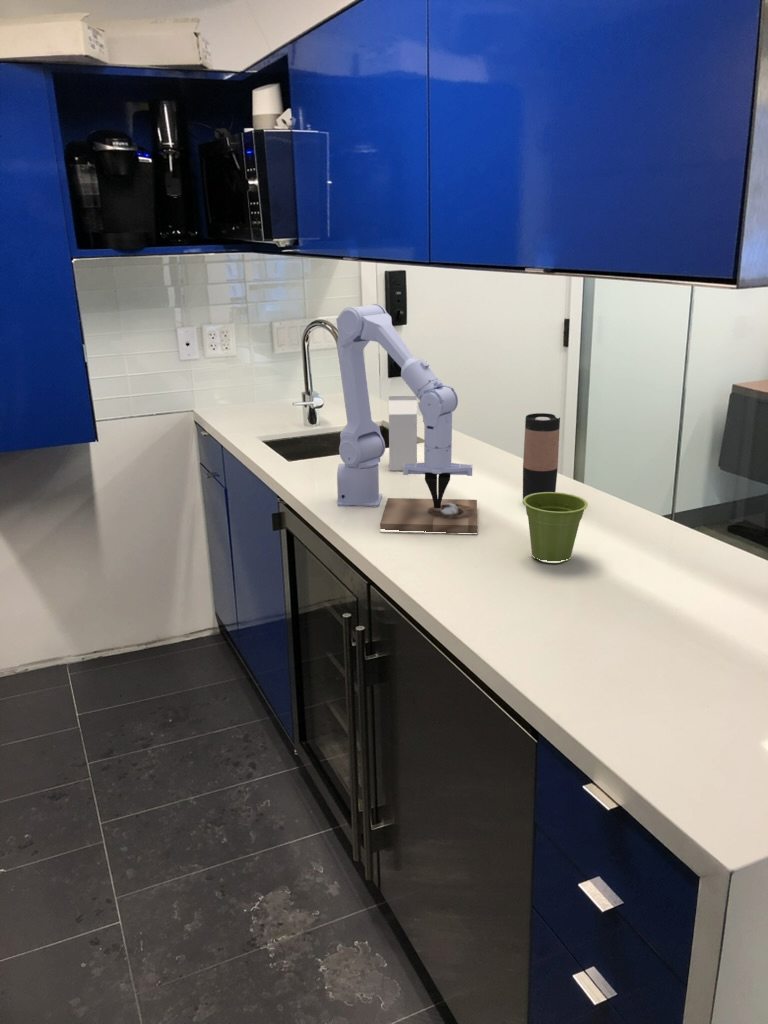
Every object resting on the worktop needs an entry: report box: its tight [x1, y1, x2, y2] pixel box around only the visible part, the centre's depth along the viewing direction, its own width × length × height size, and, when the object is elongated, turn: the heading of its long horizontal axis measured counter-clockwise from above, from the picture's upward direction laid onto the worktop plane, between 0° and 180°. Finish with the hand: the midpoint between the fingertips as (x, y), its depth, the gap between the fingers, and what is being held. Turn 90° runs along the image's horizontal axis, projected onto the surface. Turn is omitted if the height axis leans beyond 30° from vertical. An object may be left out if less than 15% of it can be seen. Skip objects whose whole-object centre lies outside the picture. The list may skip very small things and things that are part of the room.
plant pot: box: [522, 492, 589, 561], centre depth 156 cm, size 12×12×11 cm
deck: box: [379, 497, 479, 534], centre depth 179 cm, size 20×17×2 cm
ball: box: [440, 503, 459, 516], centre depth 178 cm, size 4×4×4 cm
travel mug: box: [522, 412, 561, 504], centre depth 186 cm, size 8×8×20 cm
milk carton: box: [388, 395, 418, 472], centre depth 215 cm, size 7×7×19 cm
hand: (437, 506), depth 178 cm, fingers closed
